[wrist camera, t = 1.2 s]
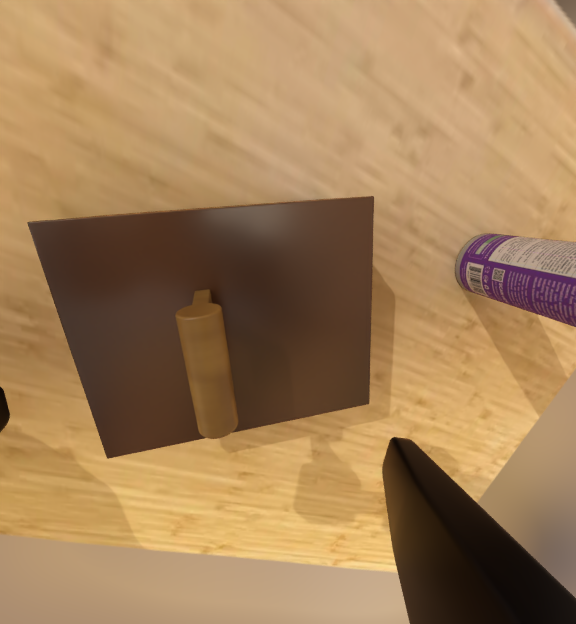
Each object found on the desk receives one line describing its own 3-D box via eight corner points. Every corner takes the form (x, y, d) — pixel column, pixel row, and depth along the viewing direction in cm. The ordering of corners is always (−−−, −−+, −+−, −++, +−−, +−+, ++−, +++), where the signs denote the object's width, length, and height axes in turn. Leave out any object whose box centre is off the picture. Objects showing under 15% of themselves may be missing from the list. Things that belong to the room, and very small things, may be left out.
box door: (111, 447, 17) (72, 542, 12) (37, 221, 13) (-64, 230, 8) (363, 396, 19) (410, 457, 15) (366, 196, 15) (432, 193, 11)
